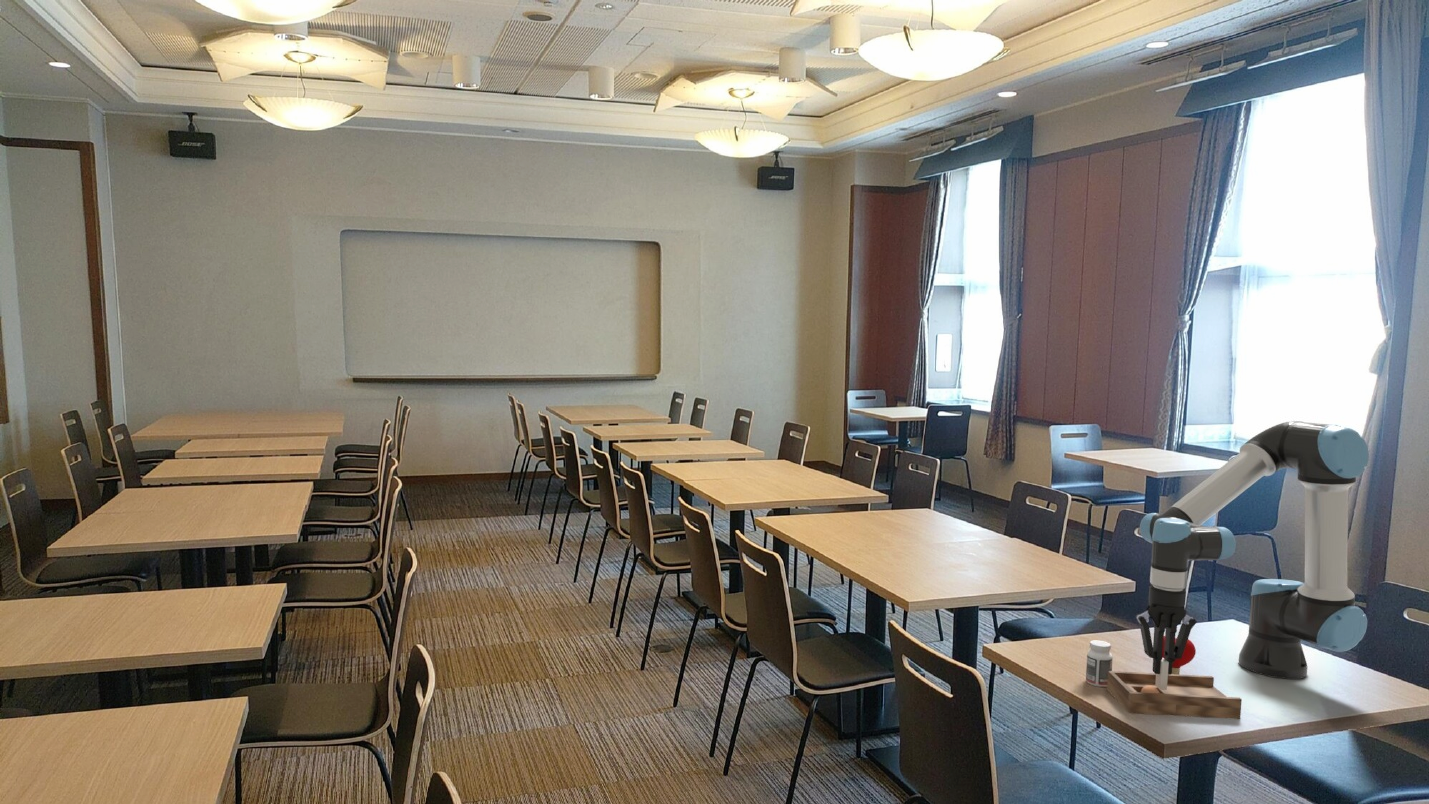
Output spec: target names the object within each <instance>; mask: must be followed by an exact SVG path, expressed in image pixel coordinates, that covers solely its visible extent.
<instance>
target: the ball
mask: <svg viewBox="0 0 1429 804" xmlns="http://www.w3.org/2000/svg"><path fill="white" fill-rule="evenodd" d="M1141 692H1143V693H1159V691H1158V689H1157V688H1155V687H1154V686H1150V685H1148V686H1145V687H1143V688H1142V690H1141Z"/></svg>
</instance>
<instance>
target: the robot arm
mask: <svg viewBox="0 0 1429 804" xmlns="http://www.w3.org/2000/svg"><path fill="white" fill-rule="evenodd" d="M1369 452H1370V451H1369V447H1368V444H1367V441H1366V440H1365V438H1364V437H1363V436H1362V435H1361V434H1360V433H1359V432H1358V431H1357V430H1355V429H1352V428H1350V427H1346V426H1345V427H1344V426H1341V425H1337V424H1327V423H1315V422H1304V421H1297V420H1296V421H1295V420H1292V421H1286V422H1281V423H1278V424H1276V425H1273V426H1271V427H1269V428H1267V429H1265V430H1262V431H1261V432H1259V433H1257V434H1256V435H1255V436H1253V437H1251V438H1250V439H1248V441H1246V442H1244V443H1243V444H1242V445H1241V446H1240V448H1239V453H1238V454H1237V455H1235V456H1234V457H1233V458H1231V459H1230V460H1228V461H1227V462H1226V463H1225V464H1224V465H1222V466H1221V467H1220V468H1218V469H1217V470H1215V472H1213V473H1212V474H1211V475H1210V476H1208V477H1207V478H1206V479H1204V481H1202V482H1201V483H1199V484H1198V485H1197V486H1196V487H1194V488H1193V489H1192V490H1191V491H1189V492H1188V493H1187V494H1185V495H1184V496H1183V497H1181V498H1180V499H1179V500H1178V501H1176V502H1175V503H1174V504H1173V505H1171V506H1170V507H1169V508H1167V509H1166V510H1165V511H1164V512H1163V513H1160V512H1151V513H1148V514H1145V516H1143V518H1142V519H1141V521H1140V524H1139V532H1140V533H1139V534H1140V535H1141V537H1142V538H1143V539H1144V540H1145V541H1146V542H1148V543H1150V544H1151V558H1150V559H1151V561H1150V562H1151V564H1150V573H1149V574H1150V575H1149V582H1150V584H1151V585H1150V586H1149V591H1148V605H1147V606H1146V609H1145V611H1144V612H1142V613H1136V614H1135V619H1136V620H1137V622H1138V624H1139V628H1140V629H1139V630H1140V633H1141V634H1140V635H1141V639H1142V645H1143V651H1144V655H1147V657H1149V658H1150V659H1152V673H1155V674H1156V682H1155V685H1156V686H1157V687H1158V688H1159V689H1160V690H1167V680H1168V675H1171V673H1172V664H1173V663H1174V662H1175V659H1181V658H1182V656H1183V653H1184V650H1185V647H1186V644H1187V641H1188V639H1189V637H1190V634H1191V631H1192V629H1193V628H1194V626H1195V625H1196V624H1197V620H1196V619H1194V617H1192V616H1190V615H1188V614H1187V610H1186V607H1185V606H1186V599H1187V598H1186V596H1187V591H1186V588H1187V583H1188V570H1189V568H1188V567H1189V561H1190V562H1191V561H1192V562H1193V561H1219V560H1226V559H1229V558H1231V557H1232V556H1233V554H1235V551H1236V544H1237V543H1236V541H1237V540H1236V538H1235V535H1234V534H1233V532H1232V531H1231V530H1230V529H1228V528H1227V527H1225V526H1216V525H1212V526H1206V525H1203V524H1205V522H1207V521H1208V520H1209V519H1210V518H1212V517H1213V516H1215V515H1216V514H1217V513H1218V512H1220V511H1221V510H1222V509H1223V508H1225V507H1226V506H1227V505H1229V504H1230V503H1231V502H1232V501H1233V500H1235V499H1237V498H1238V496H1240V495H1241V494H1242V493H1244V492H1245V491H1246V490H1247V489H1248V488H1250V487H1251V486H1252V485H1254V484H1255V483H1256V482H1257V481H1258V480H1260V479H1261V478H1262V477H1264V476H1265V477H1270V476H1272V475H1274V474H1275V473H1277V472H1278V471H1279V470H1280V471H1281V470H1282V469H1296V470H1297V481H1298V482H1299V483H1300V484H1301V485H1302V486H1303V487H1304V582H1301V581H1300V580H1299V581H1298V580H1291V579H1280V578H1279V579H1278V578H1264V579H1262V578H1261V579H1258V580H1257V579H1256V580H1255V581H1254V582H1253V584H1252V587H1251V594H1250V602H1249V603H1250V605H1249V606H1250V607H1249V621H1248V624H1249V625H1248V635H1247V636H1246V640H1245V641H1244V643H1243V645H1242V647H1241V650H1240V652H1239V654H1238V664H1239V665H1240V666H1241V667H1243V668H1245V669H1246V670H1248V671H1251V672H1253V673H1256V674H1258V675H1259V674H1260V675H1262V676H1263V675H1264V676H1267V677H1273V678H1278V679H1287V680H1291V679H1294V680H1296V679H1297V680H1298V679H1303V678H1305V677H1307V675H1308V663H1307V660H1306V656H1305V652H1304V650H1303V647H1302V641H1305V642H1307V643H1310V644H1313V645H1315V646H1319V648H1321V649H1325V650H1330V651H1333V652H1339V653H1342V652H1346V651H1350V650H1352V649H1353V648H1355V647H1356V646H1357V645H1358V644H1359V642H1361V641H1362V640H1363V638H1364V636H1365V634H1366V631H1367V628H1368V619H1367V615H1366V613H1364V610H1362V609H1361V608H1360V607H1359V606H1357V605H1356V597H1355V595H1356V594H1355V593H1354V592H1353V591H1352V590H1351V589H1350V588H1349V587H1348V546H1349V545H1348V544H1349V543H1348V537H1349V536H1348V532H1349V531H1348V530H1349V529H1348V527H1349V526H1348V524H1349V519H1348V517H1349V516H1348V515H1349V514H1348V513H1349V509H1348V507H1349V505H1348V504H1349V488H1351V487H1352V486H1354V485H1355V484H1356V482H1357V477H1360V476H1361V475H1362V474H1363V473H1364V472H1365V471H1366V467H1367V466H1368V464H1369V460H1370V459H1369V458H1370V453H1369ZM1149 618H1150V619H1149ZM1150 620H1151V621H1152V623H1153V641H1152V636H1151V630H1150V625H1149V624H1148V623H1149V621H1150ZM1181 622H1182V623H1181ZM1180 623H1181V625H1180V628H1179V631H1178V625H1179V624H1180ZM1177 631H1178V633H1177ZM1176 633H1177V634H1176ZM1176 635H1177V636H1176ZM1164 636H1165V648H1164V657H1165V659H1164V658H1162V654H1163V640H1164ZM1175 638H1177V639H1176V642H1175Z"/></svg>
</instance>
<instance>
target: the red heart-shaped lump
mask: <svg viewBox="0 0 1429 804" xmlns="http://www.w3.org/2000/svg"><path fill="white" fill-rule="evenodd" d="M1176 639H1177V637H1175V642H1176ZM1164 648H1165V635H1164V640H1163V654H1162V658H1164V659H1165V657H1164ZM1196 652H1197V651H1196V647H1195V644H1194V643H1193V642H1192V641H1191V639H1189V638H1188V641H1187V644H1186V647H1185V650H1184V653H1183V656H1182V658H1181V659H1175V662H1174V663H1173V664H1172V673H1171V674H1179V675H1180V673H1181V672H1180V670H1181V667H1184V666H1185V665H1187V664H1189V663H1190V662H1192V661H1193V659H1194V658H1195V656H1196Z"/></svg>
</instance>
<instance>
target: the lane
mask: <svg viewBox="0 0 1429 804" xmlns="http://www.w3.org/2000/svg"><path fill="white" fill-rule="evenodd" d="M1214 680H1215V678H1214V677H1213V676H1211V675H1197V674H1196V675H1195V674H1192V675H1191V674H1180V673H1179V674H1171V675H1168V680H1167V690H1160V689H1159V688H1158V687H1157V686H1156V685H1155V682H1156V674H1155V673H1154V672H1141V671H1140V672H1138V671H1134V672H1133V671H1120V670H1112V671H1108V679H1107V687H1106V690H1107V691H1108V692H1109V694H1110V695H1112V696H1113V698H1115V700H1116V701H1117V702H1119V704H1120V705H1121V706H1122V707H1123V708H1124V709H1125V710H1126V711H1127V713H1129V714H1139V715H1154V716H1155V715H1157V716H1159V715H1161V716H1174V717H1175V716H1177V717H1195V718H1197V717H1198V718H1213V719H1214V718H1215V719H1229V720H1230V719H1231V720H1232V719H1234V720H1240V719H1241V715H1242V713H1241V712H1242V698H1240V697H1237V696H1235V697H1233V696H1227V695H1225V694H1224V693H1223V692H1222V691H1220V690H1219V689H1218V688H1217V687H1215V686H1214ZM1148 685H1150V686H1154V687H1155V688H1157V689H1158V691H1159V693H1143V692H1141V690H1142V688H1143V687H1145V686H1148Z"/></svg>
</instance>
